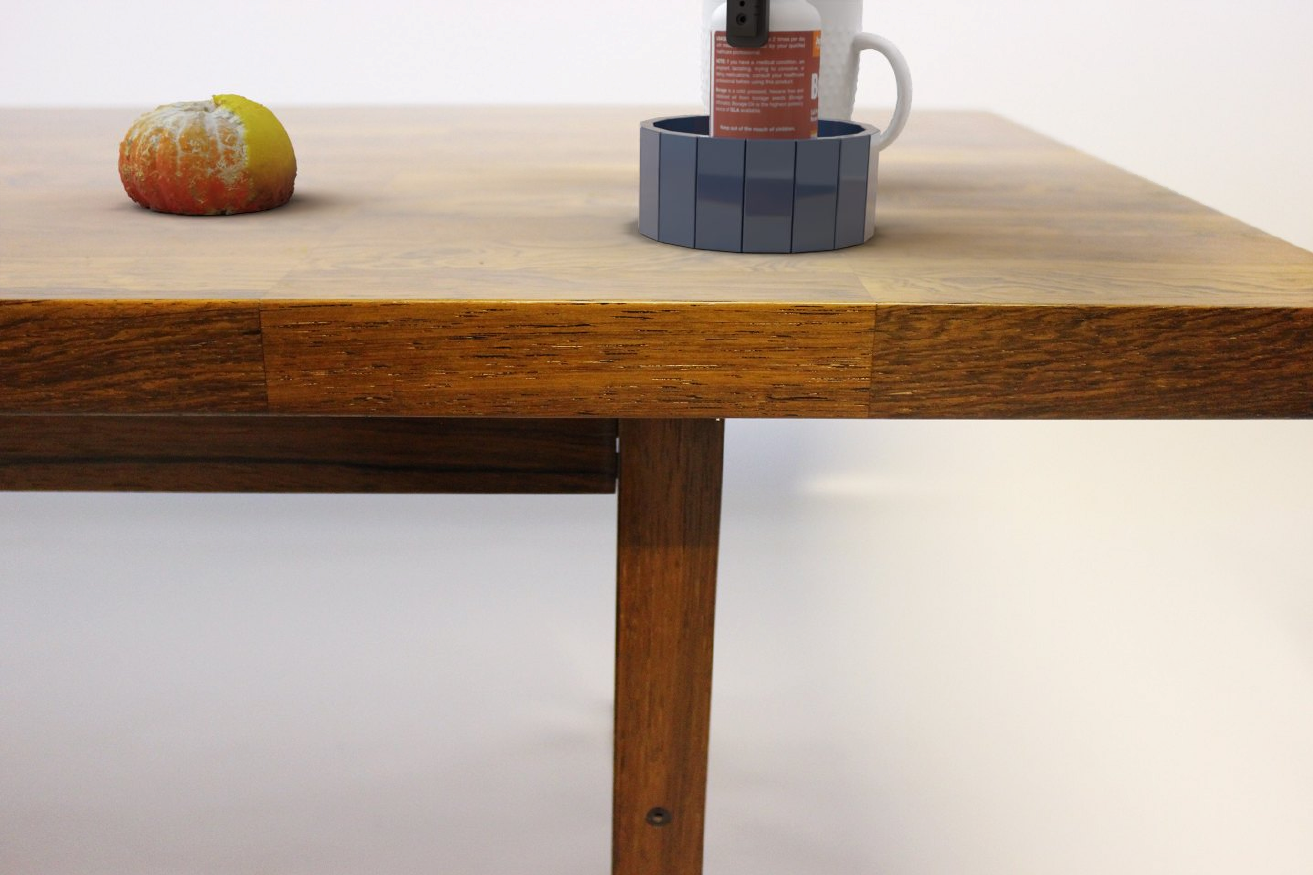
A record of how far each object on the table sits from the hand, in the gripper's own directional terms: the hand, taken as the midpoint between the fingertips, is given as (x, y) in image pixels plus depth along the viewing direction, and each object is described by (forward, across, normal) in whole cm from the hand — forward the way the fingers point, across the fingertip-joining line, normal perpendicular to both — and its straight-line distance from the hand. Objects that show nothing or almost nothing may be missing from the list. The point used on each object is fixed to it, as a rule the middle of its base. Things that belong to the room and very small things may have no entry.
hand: (765, 43), depth 76 cm
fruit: (+10, -6, +34) cm, 36 cm away
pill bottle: (+7, 0, 0) cm, 7 cm away
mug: (+11, +18, +3) cm, 21 cm away
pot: (+11, 0, 0) cm, 11 cm away
